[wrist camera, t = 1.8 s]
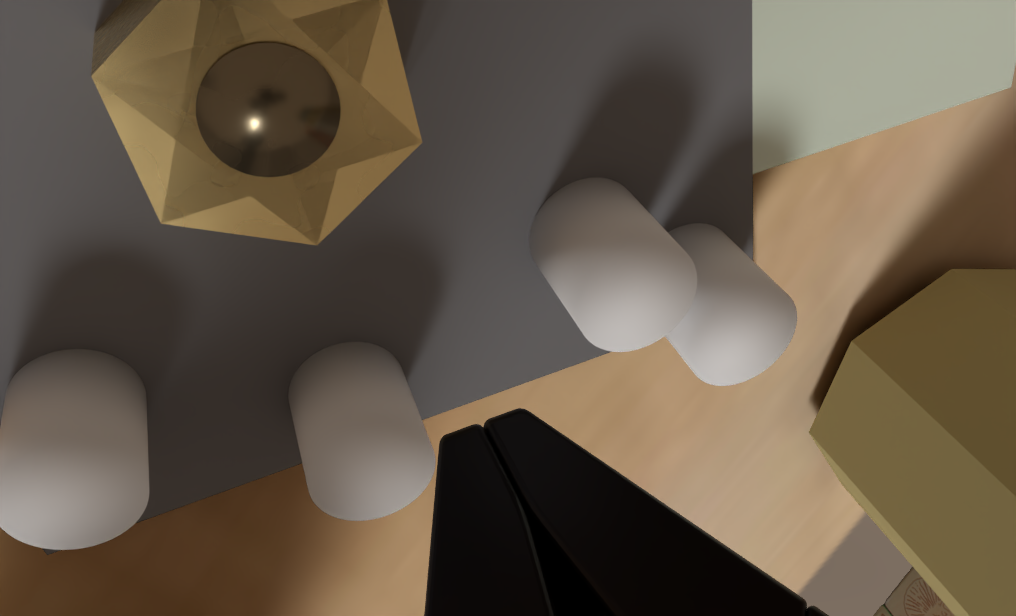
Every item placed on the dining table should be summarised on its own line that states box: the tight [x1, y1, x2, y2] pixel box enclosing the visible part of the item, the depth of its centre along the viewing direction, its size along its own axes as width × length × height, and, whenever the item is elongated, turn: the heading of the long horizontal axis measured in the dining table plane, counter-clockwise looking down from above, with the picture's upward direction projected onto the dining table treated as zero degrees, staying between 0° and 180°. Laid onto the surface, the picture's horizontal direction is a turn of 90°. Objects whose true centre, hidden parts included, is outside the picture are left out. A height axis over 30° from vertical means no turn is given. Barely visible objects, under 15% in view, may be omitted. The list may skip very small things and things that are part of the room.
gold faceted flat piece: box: [91, 0, 422, 245], centre depth 17 cm, size 6×5×2 cm
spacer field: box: [0, 0, 797, 555], centre depth 17 cm, size 20×19×4 cm
